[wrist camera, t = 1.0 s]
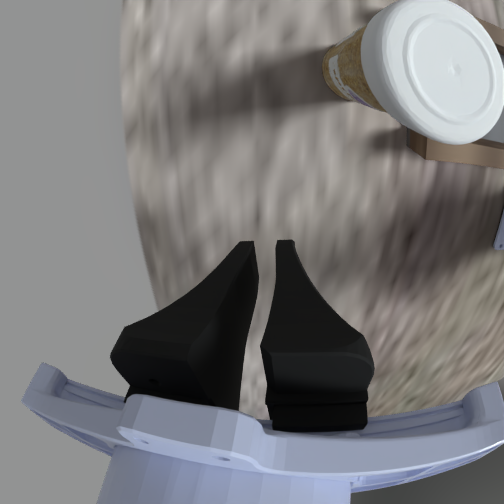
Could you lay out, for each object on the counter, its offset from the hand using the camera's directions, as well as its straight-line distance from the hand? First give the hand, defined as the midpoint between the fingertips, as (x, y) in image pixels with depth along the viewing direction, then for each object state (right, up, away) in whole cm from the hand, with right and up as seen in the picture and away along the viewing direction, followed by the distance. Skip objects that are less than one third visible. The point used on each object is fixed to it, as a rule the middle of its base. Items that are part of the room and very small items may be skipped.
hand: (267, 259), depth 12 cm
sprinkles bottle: (+6, +13, +3) cm, 15 cm away
